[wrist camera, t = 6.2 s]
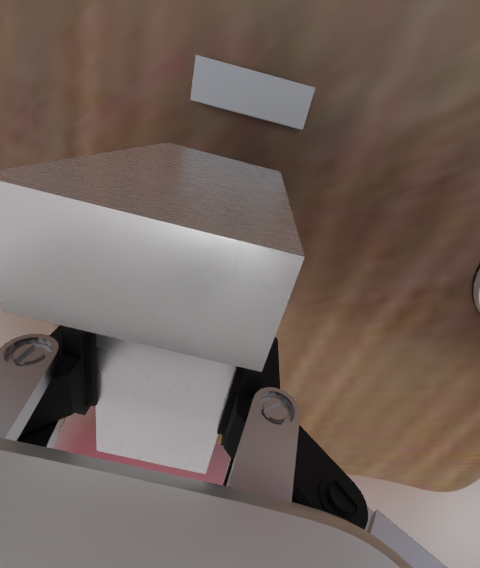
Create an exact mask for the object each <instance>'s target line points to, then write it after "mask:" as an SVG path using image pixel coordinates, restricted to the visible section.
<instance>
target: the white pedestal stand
mask: <svg viewBox="0 0 480 568" xmlns="http://www.w3.org/2000/svg"><path fill="white" fill-rule="evenodd" d="M304 258H305V256H304V253H303V249H302V246H301V242H300V239H299V235H298V232H297V228H296V225H295V221H294V218H293V214H292V211H291V207H290V204H289V200H288V197H287V193H286V190H285V186H284V183H283V179H282V176H281V172H279V171H276V170H272V169H268V168H264V167H260V166H256V165H253V164H249V163H245V162H241V161H237V160H233V159H230V158H226V157H222V156H218V155H214V154H210V153H207V152H203V151H199V150H195V149H191V148H187V147H184V146H180V145H176V144H172V143H168V142H167V143H161V144H155V145H149V146H143V147H137V148H131V149H124V150H118V151H112V152H106V153H100V154H94V155H88V156H82V157H76V158H70V159H63V160H57V161H51V162H45V163H39V164H33V165H27V166H21V167H15V168H9V169H2V170H0V299H1V304H2V309H3V312H7V313H11V314H15V315H19V316H23V317H28V318H32V319H36V320H41V321H45V322H49V323H53V324H58V325H62V326H66V327H71V328H75V329H79V330H84V331H88V332H92V333H96V346H97V396H98V403H97V405H96V437H97V451H101V452H106V453H110V454H115V455H119V456H124V457H129V458H134V459H138V460H143V461H147V462H152V463H156V464H161V465H165V466H170V467H175V468H179V469H184V470H189V471H193V472H198V473H202V474H206V471H207V468H208V464H209V461H210V458H211V455H212V452H213V449H214V446H215V442H216V439H217V436H218V434H217V429H218V426H219V423H220V420H221V416H222V413H223V410H224V407H225V404H226V400H227V397H228V394H229V391H230V388H231V384H232V381H233V378H234V375H235V371H236V368H237V366H238V367H242V368H247V369H251V370H255V371H260V372H262V370H263V367H264V364H265V362H266V359H267V356H268V354H269V351H270V348H271V346H272V343H273V340H274V338H275V335H276V332H277V330H278V327H279V324H280V322H281V319H282V316H283V314H284V311H285V308H286V306H287V303H288V300H289V298H290V295H291V292H292V290H293V287H294V284H295V282H296V279H297V276H298V274H299V271H300V268H301V266H302V263H303V260H304Z"/></svg>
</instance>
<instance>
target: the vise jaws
mask: <svg viewBox="0 0 480 568" xmlns="http://www.w3.org/2000/svg"><path fill="white" fill-rule="evenodd" d="M314 91H315V87H311V86H308V85H304V84H300V83H297V82H293V81H290V80H286V79H282V78H279V77H275V76H271V75H268V74H264V73H260V72H257V71H253V70H250V69H246V68H242V67H239V66H235V65H231V64H228V63H224V62H220V61H217V60H213V59H210V58H206V57H202V56H199V55H196V57H195V65H194V74H193V82H192V90H191V98H190V100H192V101H195V102H198V103H202V104H205V105H209V106H213V107H217V108H220V109H224V110H228V111H231V112H235V113H239V114H243V115H246V116H250V117H254V118H258V119H261V120H265V121H269V122H273V123H276V124H280V125H284V126H288V127H291V128H295V129H300V130H303V128H304V124H305V121H306V118H307V114H308V111H309V108H310V104H311V101H312V98H313V94H314Z"/></svg>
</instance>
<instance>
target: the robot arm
mask: <svg viewBox="0 0 480 568" xmlns="http://www.w3.org/2000/svg"><path fill="white" fill-rule="evenodd" d="M473 296H474V302H475V305H476V307H477V309H478V311H479V312H480V269H479V271H478V273H477V276H476V279H475V282H474V289H473ZM97 403H98V396H97V346H96V333H92V332H88V331H84V330H79V329H75V328H71V327H66V326H62V325H60V326H59V327H58V328H57V329H56V330H55V331H54V332H53V333H52V334H51V335H50V336H49V335H44V334H29V335H23V336H21V337H17V338H14V339H12V340H11V341H9V342H7V343H5V344H4V345H3V346H2V347H1V348H0V568H448V567H446V566H445V565H444V564H443V563H442V562H440V561H439V560H438V559H437V558H435V557H434V556H433V555H432V554H430V553H429V552H428V551H427V550H426V549H425V548H423V547H422V546H421V545H420V544H418V543H417V542H416V541H415V540H414V539H413V538H411V537H410V536H409V535H408V534H406V533H405V532H404V531H403V530H402V529H400V528H399V527H398V526H397V525H396V524H394V523H393V522H392V521H391V520H390V519H388V518H387V517H386V516H385V515H383V514H382V513H381V512H380V511H378V510H376V511H375V512H373V511H372V510H371V509H370V508H369V507H367V505H366V501H365V499H364V497H363V495H362V493H361V491H360V490H359V489H358V487H357V486H356V485H355V483H354V482H353V481H352V480H351V479H350V478H349V477H348V476H347V475H346V474H345V473H344V472H343V471H342V470H341V468H340V467H339V466H338V465H337V464H336V463H335V462H334V461H333V460H332V459H331V458H330V457H329V456H328V455H327V454H326V453H325V452H324V450H323V449H322V448H321V447H320V446H319V445H318V444H317V443H316V442H315V441H314V440H313V439H312V438H311V437H310V436H309V435H308V434H307V432H306V431H305V430H304V429H303V428H302V427H301V426H300V425H299V422H300V410H299V407H298V405H297V403H296V401H295V400H294V399H293V398H292V397H291V396H290V395H289V394H288V393H287V392H285V391H283V390H281V389H280V378H279V357H278V340H277V338H276V337H275V338H274V340H273V343H272V346H271V348H270V351H269V354H268V356H267V359H266V362H265V364H264V367H263V370H262V372H260V371H255V370H251V369H247V368H242V367H238V366H237V368H236V371H235V375H234V378H233V381H232V384H231V388H230V391H229V394H228V397H227V400H226V404H225V407H224V410H223V413H222V416H221V420H220V423H219V426H218V429H217V434H222V441H221V445H223V446H224V449H225V450H226V452H227V453H228V454H229V456H230V457H231V458H230V462H229V465H228V468H227V471H226V475H225V478H224V481H223V484H222V486H221V485H217V484H212V483H208V482H203V481H199V480H194V479H190V478H185V477H181V476H176V475H172V474H167V473H163V472H158V471H154V470H148V469H144V468H140V467H135V466H130V465H125V464H121V463H117V462H112V461H107V460H103V459H98V458H93V457H89V456H84V455H80V454H75V453H70V452H65V451H61V450H56V449H52V448H53V446H54V444H55V441H56V439H57V437H58V435H59V433H60V430H61V428H62V426H63V424H64V421H65V418H66V417H67V416H70V415H72V414H73V413H78V414H83V415H85V414H86V412H87V411H88V409H89V408H90V406H96V405H97Z"/></svg>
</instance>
